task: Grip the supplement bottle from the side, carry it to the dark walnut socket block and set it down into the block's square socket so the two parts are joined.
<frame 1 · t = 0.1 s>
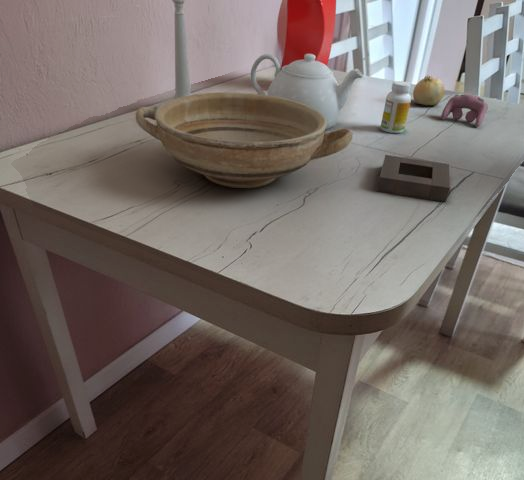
supplement bottle: (391, 130, 112), on the table
onion: (425, 105, 131), on the table
teapot: (300, 122, 114), on the table
socket: (412, 183, 88), on the table
ceramic bowl: (241, 175, 88), on the table
video game controller: (461, 122, 120), on the table
vase: (302, 89, 137), on the table
candlestick: (184, 112, 114), on the table
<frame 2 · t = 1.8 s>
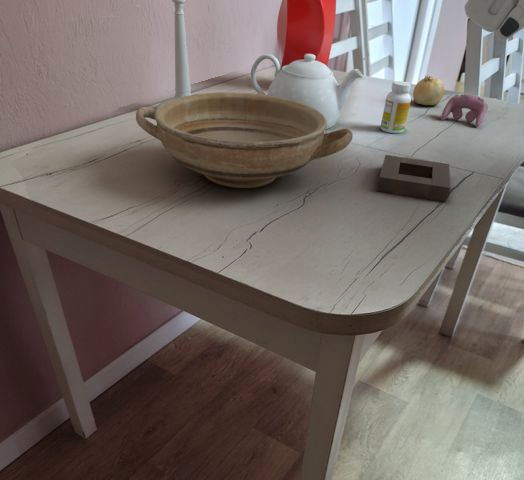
nothing on the table moved.
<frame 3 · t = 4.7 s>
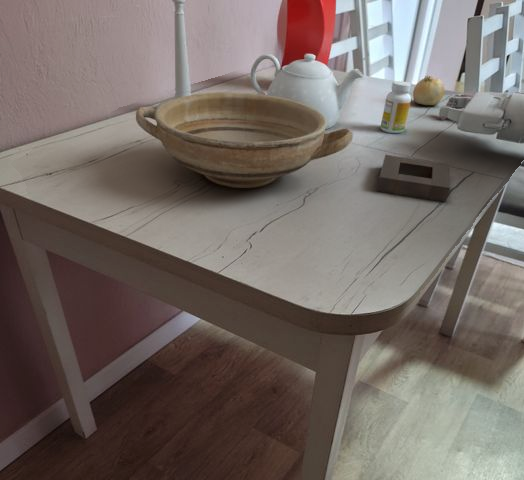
hand: (444, 105, 104), 7 cm above the table, tool horizontal, fingers open, 8 cm apart
nothing on the table moved.
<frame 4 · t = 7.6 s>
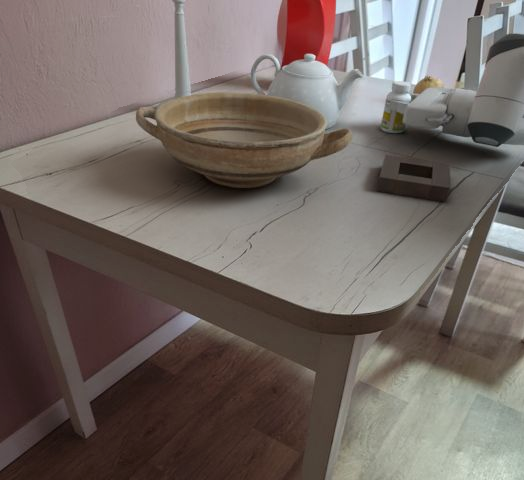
hand: (394, 100, 108), 6 cm above the table, tool horizontal, fingers closed on supplement bottle, 5 cm apart
supplement bottle: (391, 130, 112), on the table, touching gripper
everything else where it was.
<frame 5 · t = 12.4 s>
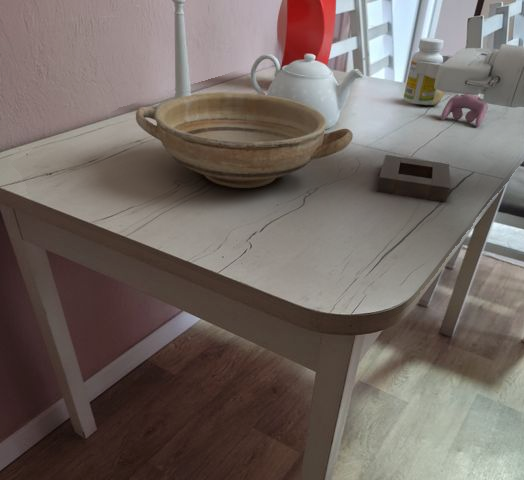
hand: (421, 63, 87), 17 cm above the table, tool horizontal, fingers closed on supplement bottle, 5 cm apart
supplement bottle: (417, 102, 90), point 11 cm above the table, touching gripper
everything else where it was.
when the fingers open (6 cm above the table, at t = 17.5 s): supplement bottle stays where it is, resting in socket.
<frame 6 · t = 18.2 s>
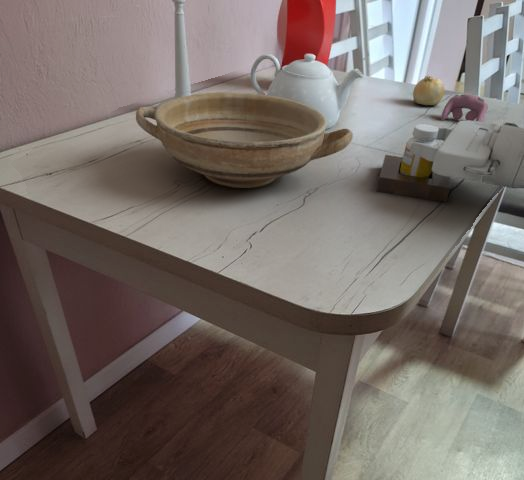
hand: (418, 139, 83), 8 cm above the table, tool horizontal, fingers open, 8 cm apart
supplement bottle: (411, 185, 88), resting in socket
everything else where it was.
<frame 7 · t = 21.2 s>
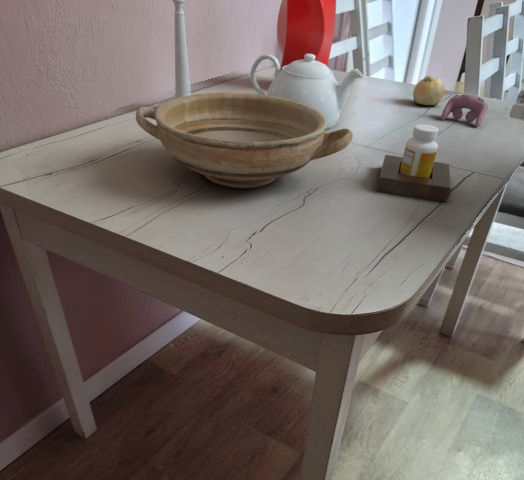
hand: (514, 102, 74), 16 cm above the table, tool horizontal, fingers open, 8 cm apart
nothing on the table moved.
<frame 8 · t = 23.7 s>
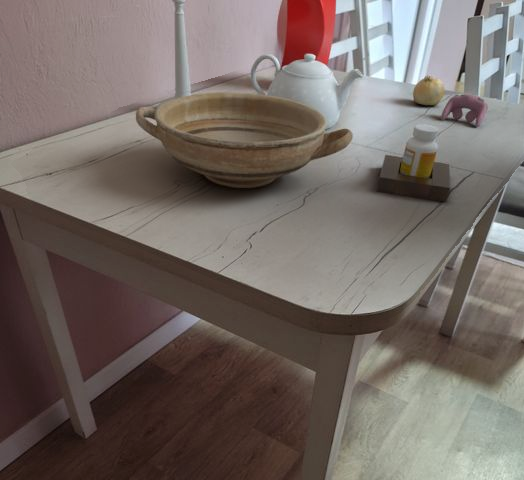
nothing on the table moved.
at the end: supplement bottle 0.0 cm off-centre in the socket, point 0.0 cm above the socket's base; supplement bottle tilted 0°; the gripper is holding nothing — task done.
